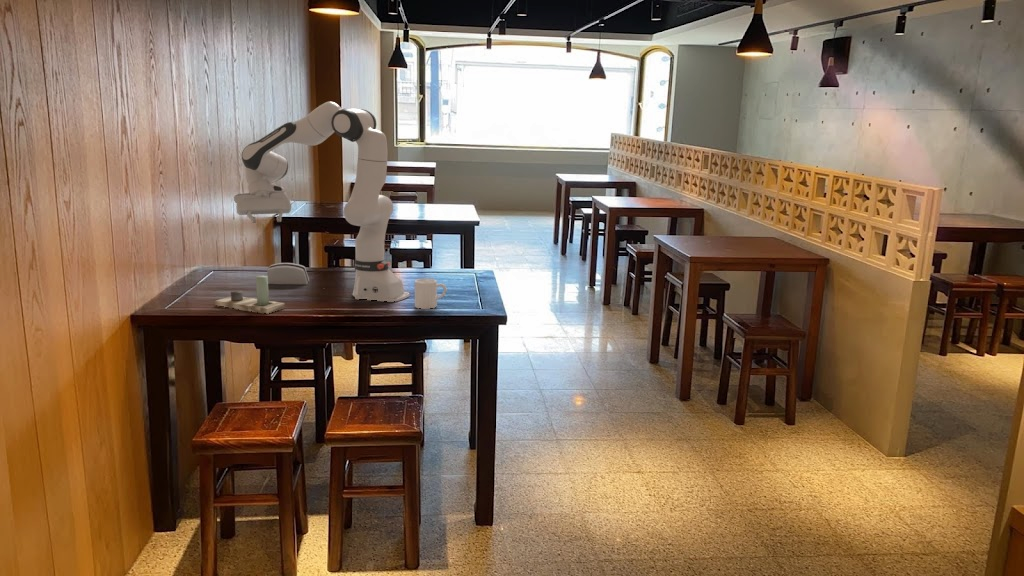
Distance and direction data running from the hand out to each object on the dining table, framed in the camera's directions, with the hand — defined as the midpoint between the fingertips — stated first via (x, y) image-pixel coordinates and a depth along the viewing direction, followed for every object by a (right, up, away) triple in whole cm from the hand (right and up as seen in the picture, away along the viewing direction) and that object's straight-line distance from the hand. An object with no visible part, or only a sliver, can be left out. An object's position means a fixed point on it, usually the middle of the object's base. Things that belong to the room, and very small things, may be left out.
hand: (266, 221), depth 282 cm
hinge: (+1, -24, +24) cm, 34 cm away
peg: (+5, -33, -17) cm, 38 cm away
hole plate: (-1, -33, -15) cm, 36 cm away
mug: (+64, -33, -8) cm, 72 cm away
